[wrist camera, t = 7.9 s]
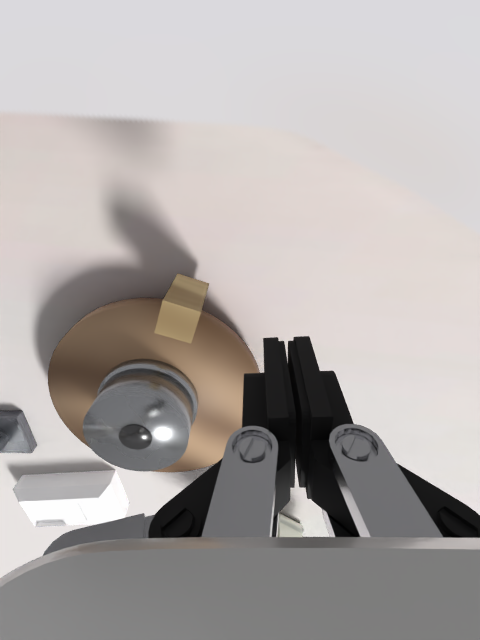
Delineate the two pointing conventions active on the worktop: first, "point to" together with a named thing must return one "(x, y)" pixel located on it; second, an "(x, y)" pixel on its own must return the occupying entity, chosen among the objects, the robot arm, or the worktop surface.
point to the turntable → (163, 345)
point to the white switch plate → (72, 498)
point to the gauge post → (15, 433)
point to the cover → (142, 415)
